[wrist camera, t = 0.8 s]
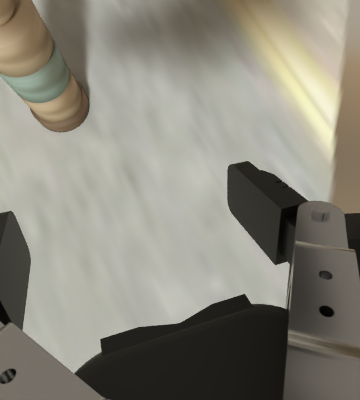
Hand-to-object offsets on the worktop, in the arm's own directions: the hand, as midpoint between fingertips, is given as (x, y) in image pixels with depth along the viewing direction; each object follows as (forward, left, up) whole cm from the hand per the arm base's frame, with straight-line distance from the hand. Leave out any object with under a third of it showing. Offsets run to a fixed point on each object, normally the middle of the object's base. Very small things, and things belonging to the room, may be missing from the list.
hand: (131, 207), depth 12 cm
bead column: (-12, -12, -20) cm, 26 cm away
